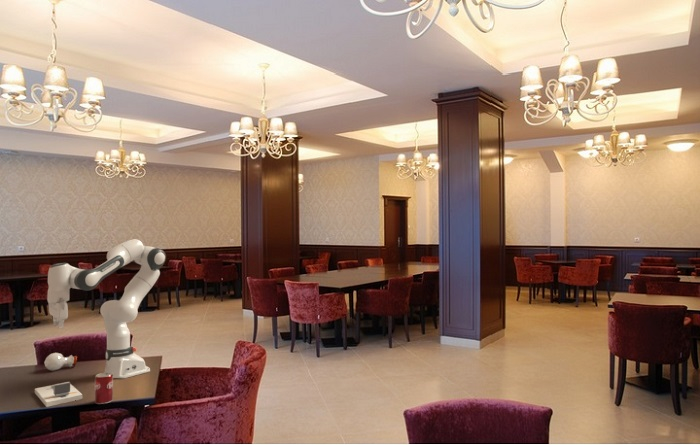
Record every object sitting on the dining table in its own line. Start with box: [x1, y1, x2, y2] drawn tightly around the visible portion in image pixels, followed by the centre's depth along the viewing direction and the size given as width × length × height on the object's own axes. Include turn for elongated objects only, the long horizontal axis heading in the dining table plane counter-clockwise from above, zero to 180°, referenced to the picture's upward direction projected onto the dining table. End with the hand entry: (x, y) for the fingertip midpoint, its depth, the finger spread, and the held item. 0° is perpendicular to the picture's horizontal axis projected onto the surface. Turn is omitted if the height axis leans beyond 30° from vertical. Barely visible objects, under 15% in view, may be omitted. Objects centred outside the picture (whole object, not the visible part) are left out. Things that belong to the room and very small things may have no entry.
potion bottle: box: [43, 352, 78, 372], centre depth 261 cm, size 9×10×15 cm
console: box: [34, 383, 83, 408], centre depth 219 cm, size 14×25×2 cm, turn 43°
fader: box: [53, 381, 71, 397], centre depth 214 cm, size 6×4×5 cm, turn 133°
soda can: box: [94, 372, 114, 405], centre depth 211 cm, size 7×7×12 cm
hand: (58, 326), depth 224 cm, fingers open, 8 cm apart
